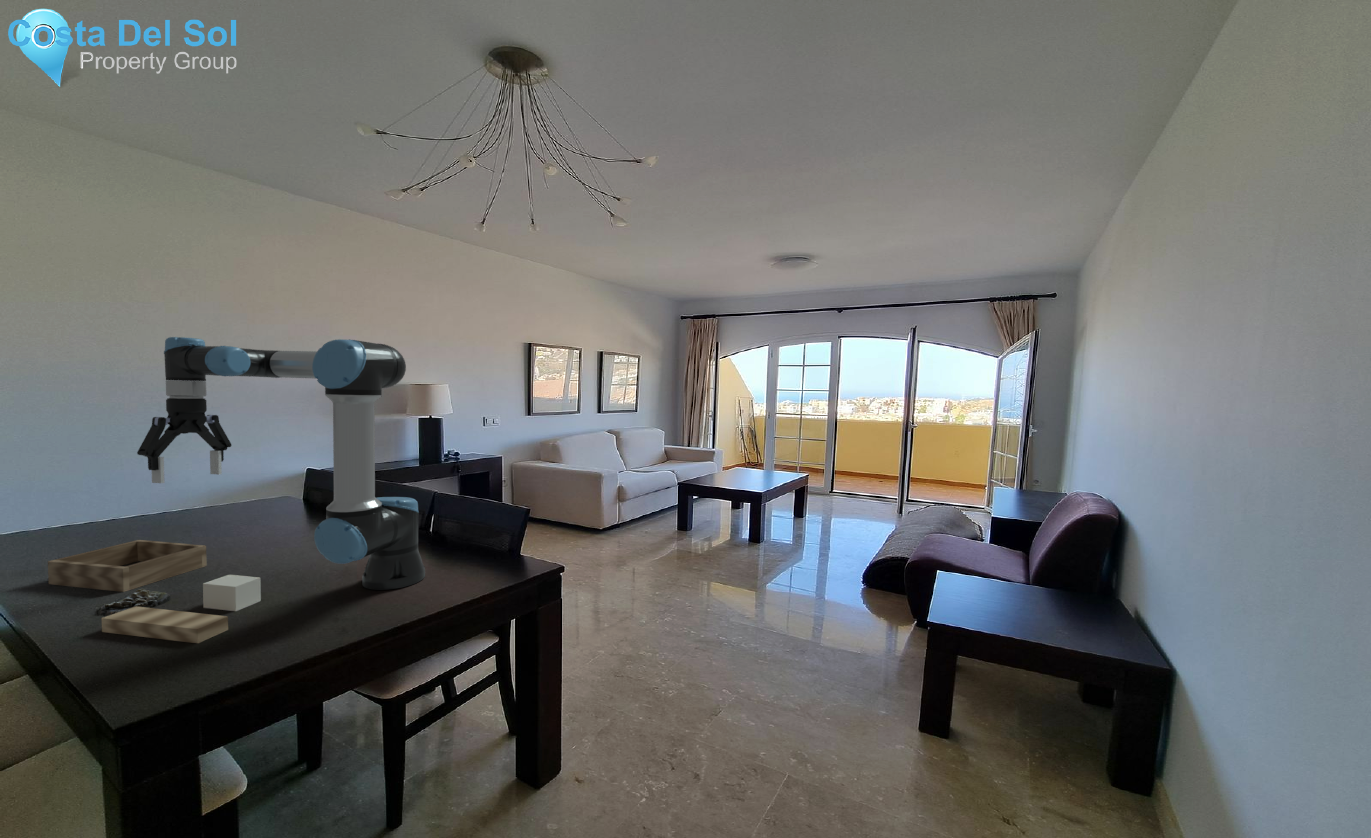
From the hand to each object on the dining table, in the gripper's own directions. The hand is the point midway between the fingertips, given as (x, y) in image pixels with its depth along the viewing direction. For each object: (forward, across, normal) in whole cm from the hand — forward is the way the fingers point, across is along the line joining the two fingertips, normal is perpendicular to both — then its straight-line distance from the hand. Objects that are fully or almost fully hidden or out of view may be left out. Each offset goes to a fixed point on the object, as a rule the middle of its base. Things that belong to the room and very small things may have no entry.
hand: (188, 478), depth 133 cm
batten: (+28, +23, +23) cm, 43 cm away
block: (+28, +9, +23) cm, 38 cm away
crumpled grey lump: (+29, +14, +2) cm, 32 cm away
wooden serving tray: (+28, -1, -21) cm, 35 cm away
